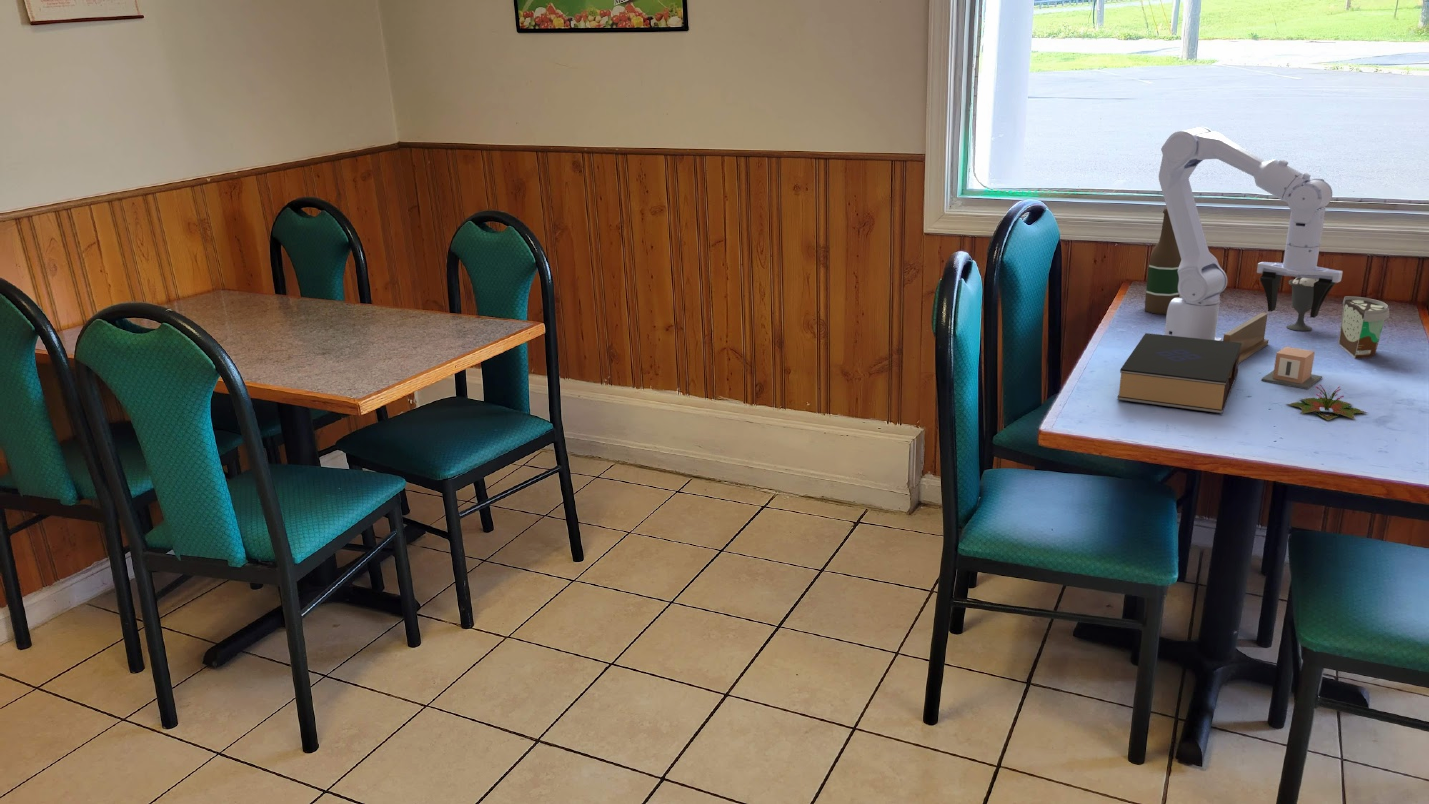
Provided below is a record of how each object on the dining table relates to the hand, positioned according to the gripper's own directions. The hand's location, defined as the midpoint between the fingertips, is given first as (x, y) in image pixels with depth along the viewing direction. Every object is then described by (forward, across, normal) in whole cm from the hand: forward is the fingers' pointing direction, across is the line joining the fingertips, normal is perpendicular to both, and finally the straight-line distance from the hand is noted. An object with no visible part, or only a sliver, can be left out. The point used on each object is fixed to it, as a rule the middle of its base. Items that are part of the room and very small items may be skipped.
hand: (1292, 313), depth 204 cm
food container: (+10, +10, +14) cm, 20 cm away
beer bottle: (+10, -34, +21) cm, 41 cm away
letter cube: (+9, +5, -12) cm, 16 cm away
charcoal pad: (+9, +5, -12) cm, 16 cm away
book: (+10, -9, -29) cm, 32 cm away
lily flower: (+10, +15, -25) cm, 31 cm away
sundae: (+10, -5, +24) cm, 26 cm away
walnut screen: (+9, -8, -2) cm, 12 cm away
